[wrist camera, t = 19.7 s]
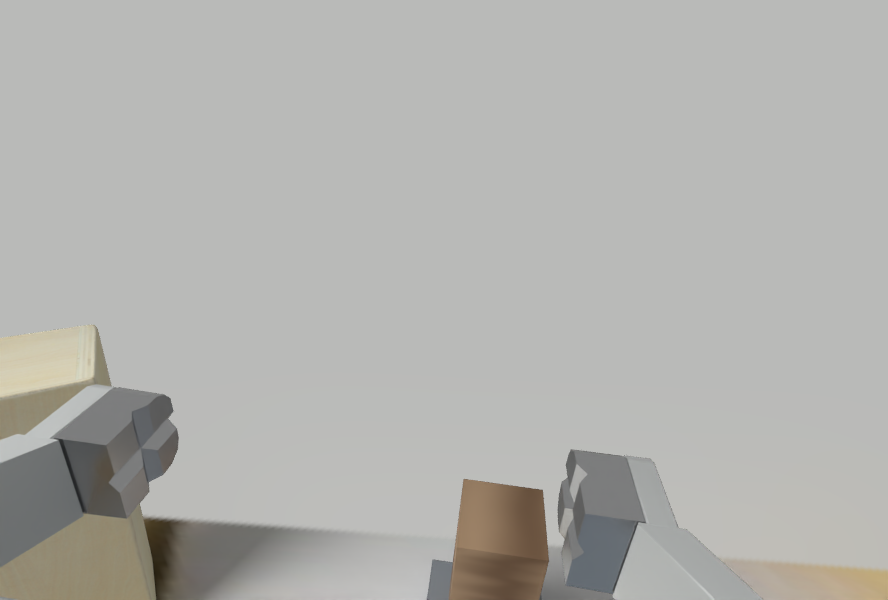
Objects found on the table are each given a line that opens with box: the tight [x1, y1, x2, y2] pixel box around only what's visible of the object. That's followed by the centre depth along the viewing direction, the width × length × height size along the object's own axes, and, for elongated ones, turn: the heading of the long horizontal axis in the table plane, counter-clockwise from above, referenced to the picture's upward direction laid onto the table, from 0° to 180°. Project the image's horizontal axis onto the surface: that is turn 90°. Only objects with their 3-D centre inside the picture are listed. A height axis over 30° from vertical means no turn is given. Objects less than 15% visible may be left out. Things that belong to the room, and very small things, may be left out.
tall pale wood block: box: [0, 325, 156, 600], centre depth 31 cm, size 8×7×21 cm
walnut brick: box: [449, 479, 549, 600], centre depth 32 cm, size 5×5×10 cm
